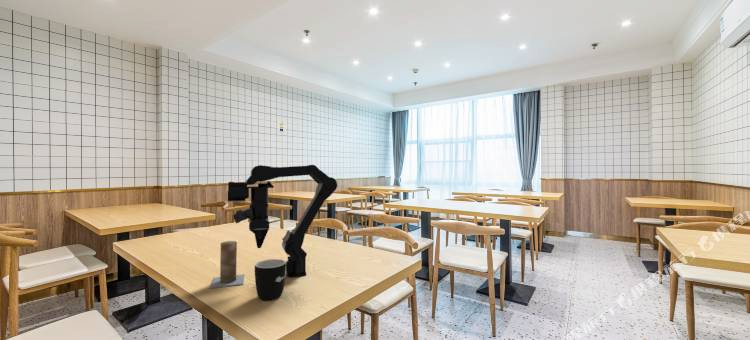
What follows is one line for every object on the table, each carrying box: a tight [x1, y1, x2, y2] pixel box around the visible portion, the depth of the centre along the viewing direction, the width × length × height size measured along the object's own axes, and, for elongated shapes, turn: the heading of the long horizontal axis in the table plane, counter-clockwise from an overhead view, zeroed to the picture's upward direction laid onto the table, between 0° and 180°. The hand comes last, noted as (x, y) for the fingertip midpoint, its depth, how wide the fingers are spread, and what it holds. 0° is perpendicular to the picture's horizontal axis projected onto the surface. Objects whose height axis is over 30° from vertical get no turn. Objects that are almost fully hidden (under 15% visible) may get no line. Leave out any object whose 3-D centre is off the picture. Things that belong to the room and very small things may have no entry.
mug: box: [254, 258, 286, 302], centre depth 94 cm, size 12×9×10 cm
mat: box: [209, 274, 245, 289], centre depth 105 cm, size 10×10×1 cm
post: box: [219, 240, 238, 283], centre depth 105 cm, size 5×5×13 cm
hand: (259, 244), depth 108 cm, fingers open, 9 cm apart
